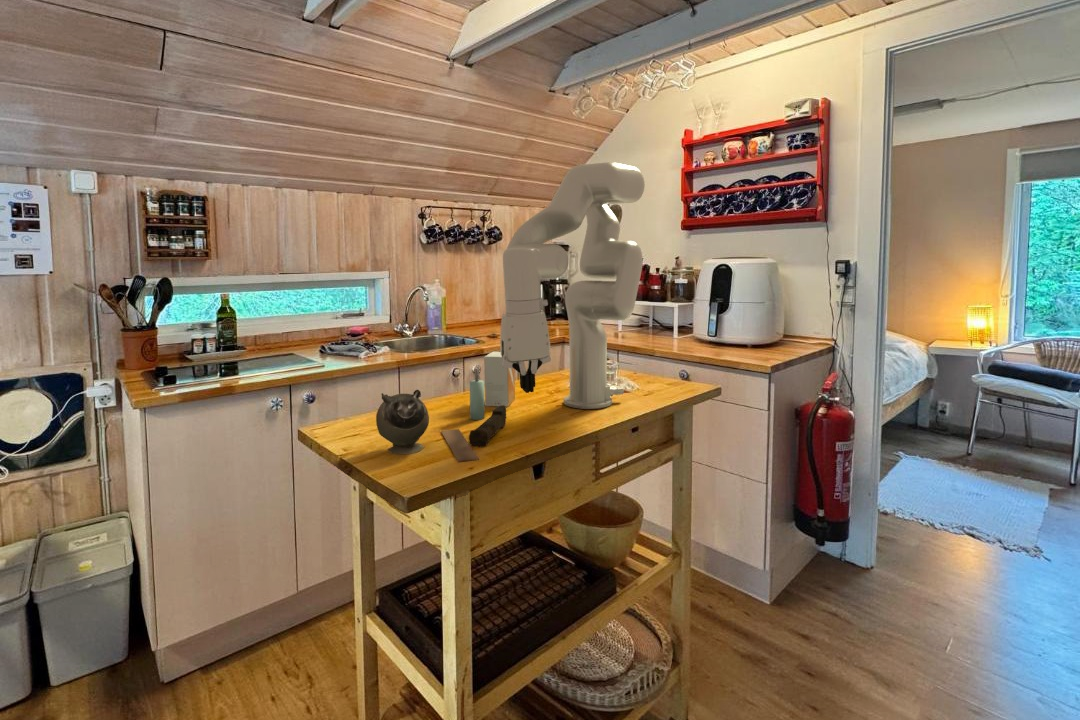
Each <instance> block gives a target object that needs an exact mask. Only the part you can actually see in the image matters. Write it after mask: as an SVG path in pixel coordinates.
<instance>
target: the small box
mask: <svg viewBox="0 0 1080 720" xmlns="http://www.w3.org/2000/svg"><path fill="white" fill-rule="evenodd" d="M502 360H503V357H502V356H501V351H492V352H490V353H488V354H487V355H485V356H484V357H483V363H484V364H483V366H484V367H483V368H484V371H483V372H484V407H498V406H502V405H504V406H505V408H507V407H509V406H510V405H511V404H512V403H513V402H514V401H515V400H516V373H515V371H516V370H515V369H514V368H505V367H503V366H502Z"/></svg>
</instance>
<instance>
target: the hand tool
mask: <svg viewBox="0 0 1080 720" xmlns="http://www.w3.org/2000/svg"><path fill="white" fill-rule="evenodd" d="M506 421H507V407H505V406H504V405H502V406H496V407H495V408H494V409H493V410H492V411H491V415H490V416H489V417H488V418H487V419H486V420H485V421H484V422H483V423H481V424H480V425H479V426H478V427H477V428H476V429H473V430H470V432H469V435H468V440H469V441H468V443H469V444H470V446H471V447H472V448H484V447H486V446H487V445H488V444H489V441H490V439H492V437H493V436H494V435H496V433H497V432H498V431H499V430H503V429H504V428H505V427H506Z"/></svg>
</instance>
